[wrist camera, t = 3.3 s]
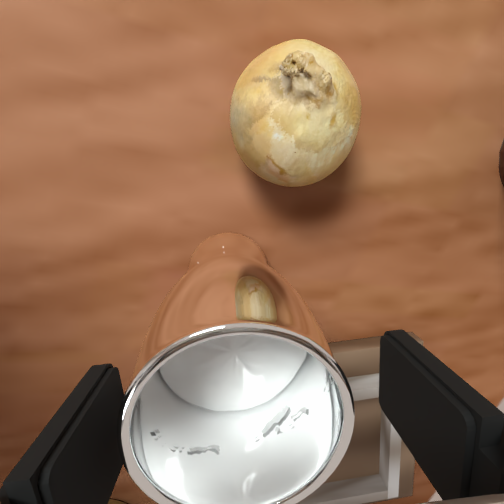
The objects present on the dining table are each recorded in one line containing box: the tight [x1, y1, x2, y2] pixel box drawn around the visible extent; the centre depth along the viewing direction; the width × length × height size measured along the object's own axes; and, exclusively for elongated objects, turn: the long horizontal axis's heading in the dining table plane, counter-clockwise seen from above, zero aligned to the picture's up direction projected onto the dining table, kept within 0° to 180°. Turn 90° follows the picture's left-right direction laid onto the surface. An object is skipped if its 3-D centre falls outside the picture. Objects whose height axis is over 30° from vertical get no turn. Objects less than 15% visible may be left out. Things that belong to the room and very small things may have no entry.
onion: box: [230, 39, 361, 187], centre depth 17 cm, size 8×8×7 cm
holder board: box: [296, 332, 423, 504], centre depth 25 cm, size 17×17×3 cm
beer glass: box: [117, 232, 355, 504], centre depth 15 cm, size 7×7×15 cm
